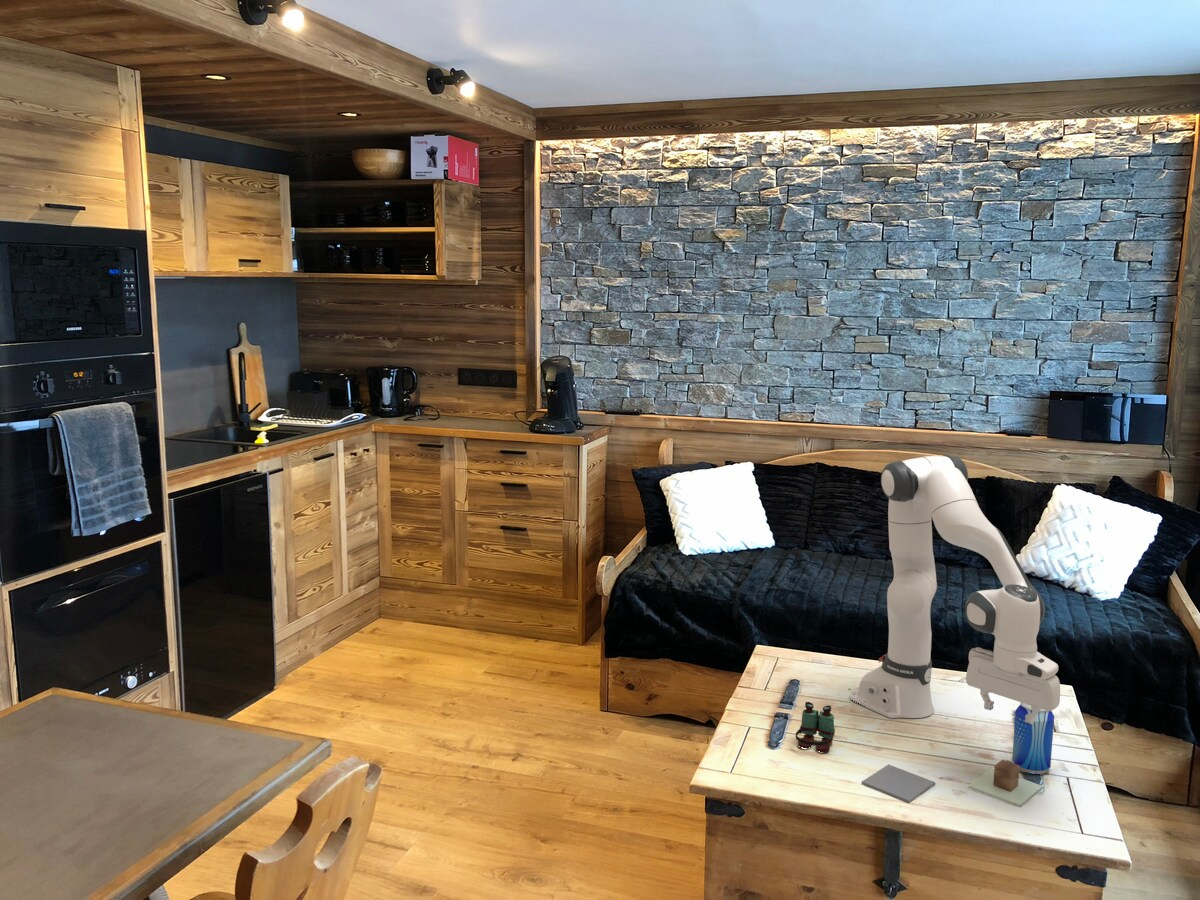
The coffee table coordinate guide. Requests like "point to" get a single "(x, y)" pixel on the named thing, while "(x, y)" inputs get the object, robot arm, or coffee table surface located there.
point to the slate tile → (898, 783)
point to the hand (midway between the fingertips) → (1008, 715)
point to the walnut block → (1006, 775)
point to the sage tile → (1014, 797)
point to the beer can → (1033, 740)
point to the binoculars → (816, 727)
